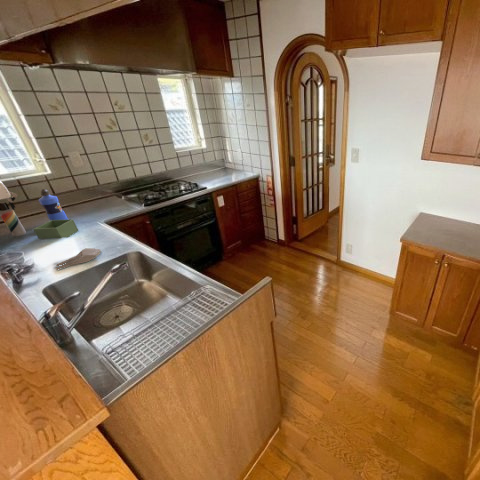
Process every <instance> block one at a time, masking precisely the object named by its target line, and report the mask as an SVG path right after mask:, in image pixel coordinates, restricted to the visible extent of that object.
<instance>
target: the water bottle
mask: <svg viewBox="0 0 480 480" xmlns="http://www.w3.org/2000/svg"><path fill="white" fill-rule="evenodd" d="M39 193H40V195H41V197H40V198H39V199H38V202H39V204H40V205H41V206H42V207H43V209H44V211H45V214H46V215H47V217H48V219H49V221H51V220H66V219H69V218H68V216H67V214H66V212H65V211H64V209H63V208H62V206H61V203H60V201H59V198H58V196H56V195H52V194H51V193H50V192H49V191H48V189H41V190H40V191H39Z"/></svg>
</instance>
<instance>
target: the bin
mask: <svg viewBox="0 0 480 480" xmlns="http://www.w3.org/2000/svg"><path fill="white" fill-rule="evenodd" d="M32 230H33V232H34V233H35V235H36V237H37V238H38V239H39V240H42V239H62V238H69V237H71V236H73V235H74V234H76V233H78V232H79V231H78V230H79V228H78V226H77V225H76V223H75V221H74V219H73V218H72V219H71V218H70V219H69V218H68V219H66V220H51V221H50V220H49V221H46V222H44V223H43V224H40V225H39V226H37V227H34V228H33V229H32ZM77 231H78V232H77ZM75 232H76V233H75ZM73 233H74V234H73ZM72 234H73V235H72ZM70 235H71V236H70Z"/></svg>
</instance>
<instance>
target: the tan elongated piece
mask: <svg viewBox="0 0 480 480" xmlns="http://www.w3.org/2000/svg"><path fill="white" fill-rule="evenodd" d="M100 254H101V249H100V248H95V247H94V248H91V247H87V248H83V249H82V250H80V252H78V253H77V254H76V255H75V256H72V257H70V258H68V259H65V260H63V261H60V262H58V263H57V264H55V267H56V266H59V265H62V266H59V267H56V268H57V269H55V271H59V270H58V269H60V268H63V269H65V268H68V267H70V265H71V266H73V265H74V264H75V265H79V264H83V263H88V262H90V261H92V260H94V259H95V258H97V257H98V256H99V255H100ZM65 263H66V264H65ZM63 264H64V265H63ZM67 266H68V267H67ZM64 267H65V268H64Z"/></svg>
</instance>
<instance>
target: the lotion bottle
mask: <svg viewBox="0 0 480 480" xmlns="http://www.w3.org/2000/svg"><path fill="white" fill-rule="evenodd" d="M7 203H8V202H6V201H0V217H1V219H2V221H3V222H4V224H5V225H6V227H7V229H8V231H9V232H10V234H11V235H12V236H13V237H20V236H22V235H25V234H26V233H27V230H26V229H25V227H24V226H23V224H22V223H21V220H20V219H19V217H18V215H17V214H16V212H15V210H13V209H12V208H11V207H9V205H8V204H7Z"/></svg>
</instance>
